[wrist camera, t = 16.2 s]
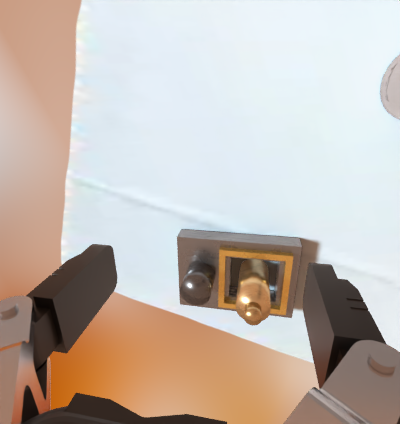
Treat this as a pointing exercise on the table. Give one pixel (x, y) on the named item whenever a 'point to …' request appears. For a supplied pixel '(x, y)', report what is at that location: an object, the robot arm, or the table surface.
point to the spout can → (253, 291)
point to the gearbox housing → (221, 267)
